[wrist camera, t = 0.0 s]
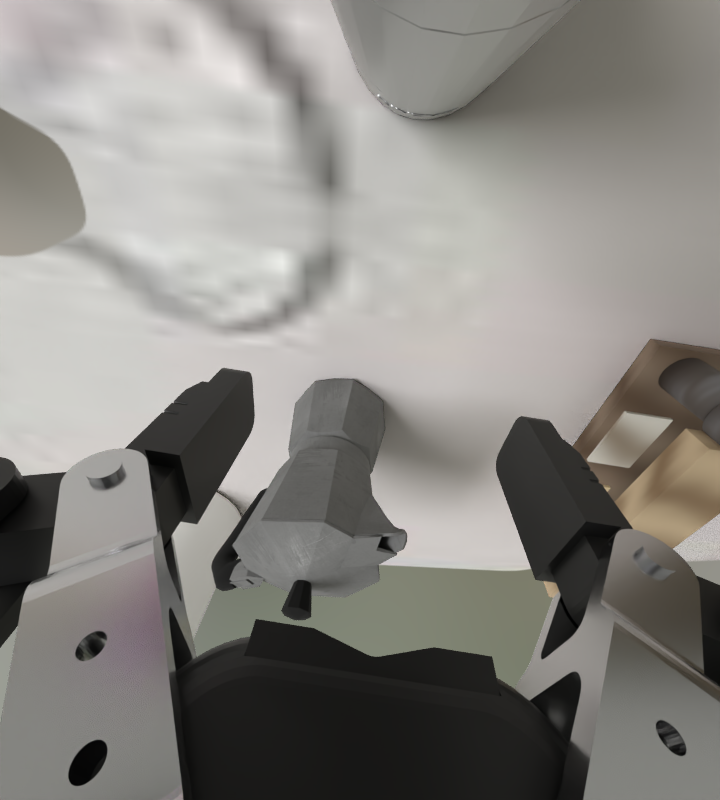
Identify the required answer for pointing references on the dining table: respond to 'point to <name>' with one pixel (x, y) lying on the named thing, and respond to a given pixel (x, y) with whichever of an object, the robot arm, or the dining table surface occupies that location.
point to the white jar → (202, 554)
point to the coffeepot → (317, 506)
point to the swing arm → (676, 488)
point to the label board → (650, 411)
